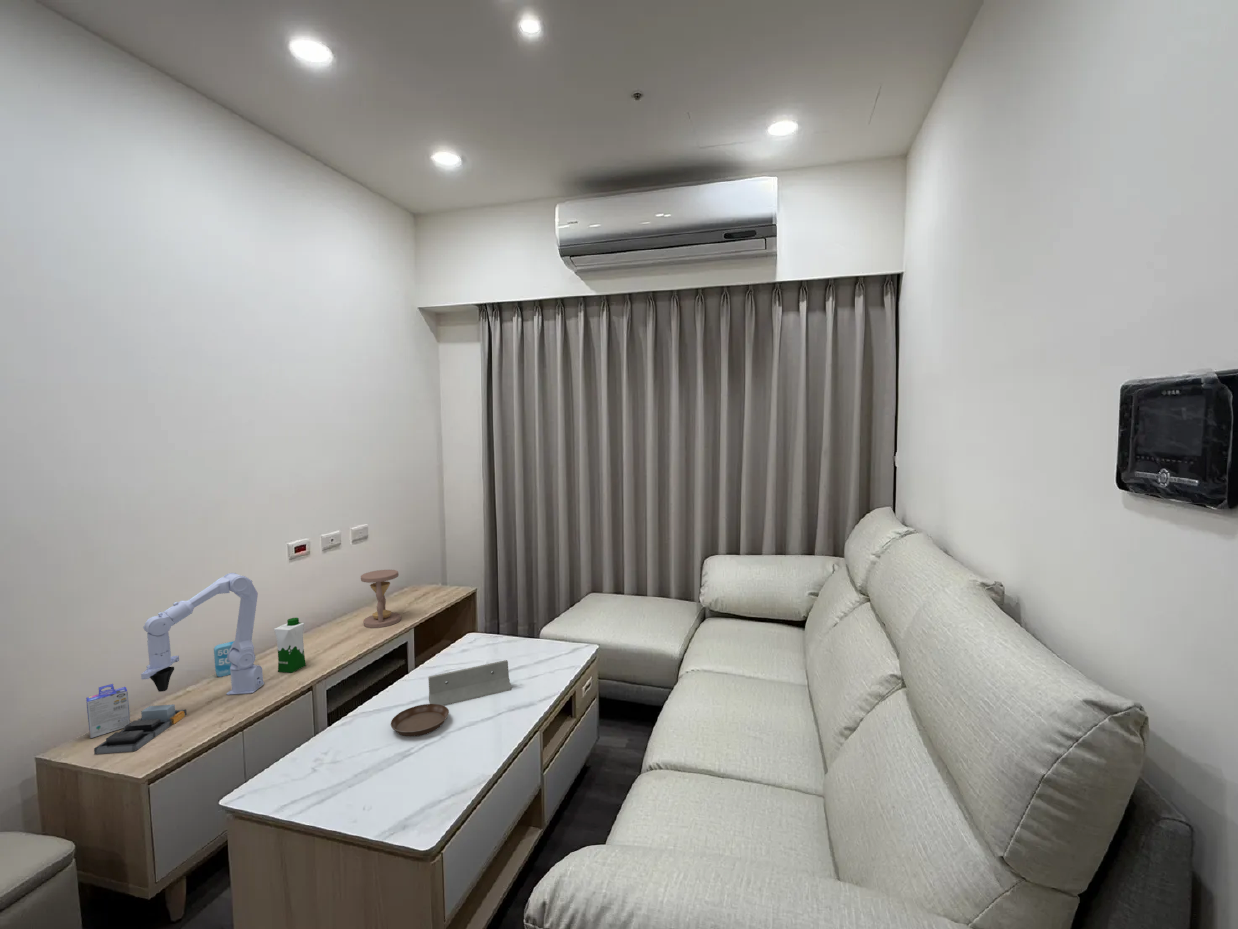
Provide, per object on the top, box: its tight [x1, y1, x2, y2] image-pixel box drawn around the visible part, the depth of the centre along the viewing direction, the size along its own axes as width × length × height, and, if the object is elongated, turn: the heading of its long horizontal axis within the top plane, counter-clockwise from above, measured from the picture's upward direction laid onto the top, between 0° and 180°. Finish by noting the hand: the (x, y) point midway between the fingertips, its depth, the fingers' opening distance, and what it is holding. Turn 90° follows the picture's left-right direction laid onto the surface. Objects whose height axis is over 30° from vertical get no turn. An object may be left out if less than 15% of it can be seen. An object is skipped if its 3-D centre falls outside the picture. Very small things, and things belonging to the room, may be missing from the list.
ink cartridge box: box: [85, 683, 131, 739], centre depth 179 cm, size 10×6×14 cm, turn 138°
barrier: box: [427, 659, 512, 707], centre depth 195 cm, size 28×7×10 cm, turn 116°
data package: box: [213, 640, 235, 678], centre depth 222 cm, size 12×4×12 cm, turn 131°
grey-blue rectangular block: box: [140, 703, 176, 721], centre depth 183 cm, size 8×4×5 cm, turn 95°
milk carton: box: [273, 617, 307, 674], centre depth 222 cm, size 9×9×20 cm
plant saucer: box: [390, 703, 450, 738], centre depth 175 cm, size 18×18×3 cm
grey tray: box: [93, 709, 187, 755], centre depth 176 cm, size 12×22×4 cm, turn 5°
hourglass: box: [360, 569, 402, 629], centre depth 276 cm, size 18×18×25 cm
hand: (162, 690), depth 186 cm, fingers closed
